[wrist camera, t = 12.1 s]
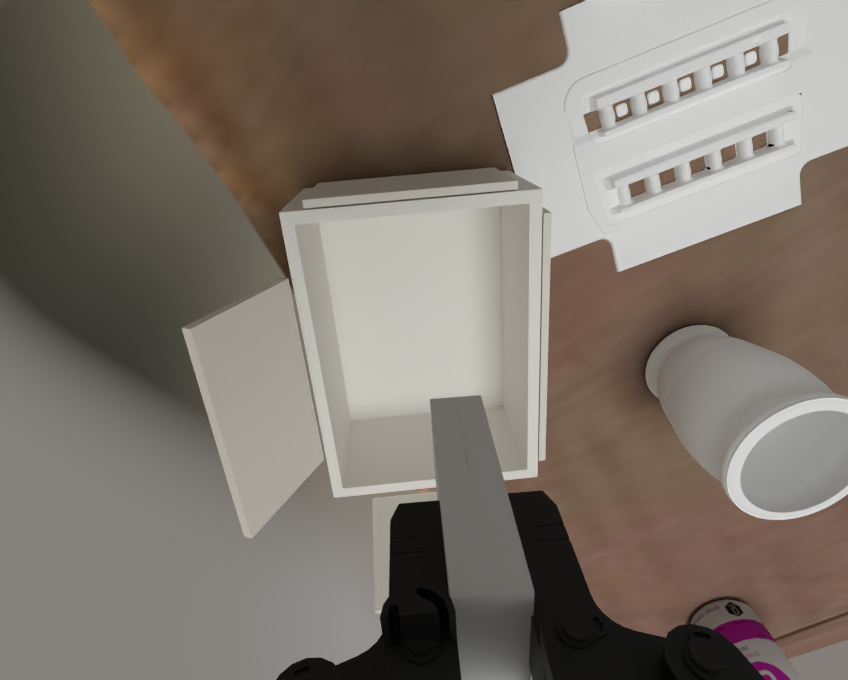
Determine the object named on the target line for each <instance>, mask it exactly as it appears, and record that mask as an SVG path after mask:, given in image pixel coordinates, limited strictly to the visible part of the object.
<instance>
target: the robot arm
mask: <svg viewBox="0 0 848 680" xmlns="http://www.w3.org/2000/svg"><path fill="white" fill-rule="evenodd" d="M430 409H431V423H432V438H433V453H434V467H435V479H436V490H437V501H424V502H412V503H400V504H398V506H397V508H396V510H395V512H394V514H393V516H392V518H391V520H390V560H389V597H388V598H387V600H386V601H385V603H384V604H383V608H382V612H381V616H380V620H381V627H382V635H381V637H380V638H379V640H378V641H377V642H376V643H375V644H374V645H373V646H372V647H371V648H370V649H369V650H367V651H366V652H364V653H362V654H360V655H359V656H357V657H354V658H352V659H350V660H347V661H345V662H343V663H340V664H338V665H336V666H335V665H334V663H332V662H330V661H327V660H325V659H323V658H306V659H303V660H301V661H299V662H296V663H294V664H292V665H291V666H289V667H288V668H287V669H286V670H285V671H284V672H282V673H281V674H280V675H279V677H278V678H277V680H530V679H531V675H532V679H533V680H765V679H764V678H763V676H762V675H761V674H760V673H759V672H758V671H757V670H756V668H755V667H754V666H753V665H752V664H751V663H750V662H749V660H748V659H747V658H746V657H745V656H744V655H743V654H742V652H741V651H740V650H739V649H738V648H737V647H736V646H735V645H734V644H733V643H731V642H730V641H729V640H728V639H727V638H726V637H725V636H723V635H721V634H719V633H718V632H716V631H714V630H712V629H710V628H708V627H703V626H699V625H694V624H688V625H680V626H677V627H676V628H674V629H673V630H671V631H670V632H668V635H667V637H666V638H664V637H660V636H655V635H651V634H646V633H642V632H638V631H634V630H631V629H628V628H625V627H623V626H621V625H619V624H617V623H615V622H614V621H612V620H611V619H610V618H608V617H607V616H606V615H605V614H604V613H603V612H602V611H601V610H600V609H599V608H598V606H597V605H596V604H595V602H594V600H593V598H592V596H591V594H590V591H589V589H588V586H587V583H586V581H585V578H584V576H583V573H582V570H581V568H580V565H579V563H578V560H577V557H576V555H575V552H574V549H573V547H572V544H571V542H570V541H569V536H568V534H567V531H566V529H565V527H564V525H563V521H562V518H561V515H560V513H559V510H558V508H557V505H556V504H555V503H554V502H553V501H552V500H551V499H550V498H549V497H548V496H547V495H546V494H545V493H544V492H543V491H532V492H520V493H507V489H506V485H505V482H504V478H503V474H502V471H501V467H500V463H499V460H498V456H497V452H496V449H495V445H494V441H493V438H492V434H491V430H490V427H489V423H488V419H487V416H486V412H485V408H484V405H483V401H482V397H481V395H475V396H463V397H450V398H437V399H430Z"/></svg>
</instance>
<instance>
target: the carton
mask: <svg viewBox="0 0 848 680" xmlns="http://www.w3.org/2000/svg"><path fill="white" fill-rule="evenodd" d="M542 203H543V189H542V188H540V187H538V186H536V185H535V184H533V183H531V182H529V181H527V180H525V179H523V178H522V177H520V176H518V175H516V174H514V173H512V172H511V171H509V170H505V171H500V170H499V169H497V168H495V167H493V168H481V169H470V170H459V171H447V172H436V173H425V174H414V175H402V176H391V177H380V178H369V179H357V180H346V181H335V182H324V183H318V184H317V185H316V186H315V187H314V188H304V189H303V190H302V191H301V192H300V193H299V194H298V195H297V196H296V197H294V198H293V199H292V200H291V201H290V202H289V203H288V204H287V205H286V206H285V207H284V208H283V209H282V210H281V211H280V212H279V216H280V222H281V227H282V232H283V237H284V242H285V247H286V253H287V258H288V263H289V268H290V273H291V278H292V284H293V289H294V294H295V299H296V304H297V309H298V314H299V320H300V325H301V330H302V335H303V340H304V345H305V350H306V356H307V360H308V366H309V371H310V377H311V381H312V387H313V391H314V397H315V402H316V407H317V413H318V418H319V423H320V428H321V433H322V438H323V444H324V449H325V454H326V459H327V464H328V469H329V475H330V480H331V485H332V490H333V495H334V498H335V497H345V496H355V495H365V494H375V493H384V492H394V491H404V490H414V489H423V488H433V487H436V479H435V467H434V453H433V438H432V423H431V409H430V399H437V398H450V397H463V396H475V395H481V397H482V401H483V405H484V408H485V412H486V416H487V419H488V423H489V427H490V430H491V434H492V438H493V441H494V445H495V449H496V452H497V456H498V460H499V463H500V467H501V471H502V474H503V478H504V480H511V479H520V478H530V477H537V473H538V460H539V461H542V460H545V449H546V410H547V372H548V334H549V295H550V257H551V219H552V213H551V212H550V211H548V210H547V209H545V208H544V207H542Z"/></svg>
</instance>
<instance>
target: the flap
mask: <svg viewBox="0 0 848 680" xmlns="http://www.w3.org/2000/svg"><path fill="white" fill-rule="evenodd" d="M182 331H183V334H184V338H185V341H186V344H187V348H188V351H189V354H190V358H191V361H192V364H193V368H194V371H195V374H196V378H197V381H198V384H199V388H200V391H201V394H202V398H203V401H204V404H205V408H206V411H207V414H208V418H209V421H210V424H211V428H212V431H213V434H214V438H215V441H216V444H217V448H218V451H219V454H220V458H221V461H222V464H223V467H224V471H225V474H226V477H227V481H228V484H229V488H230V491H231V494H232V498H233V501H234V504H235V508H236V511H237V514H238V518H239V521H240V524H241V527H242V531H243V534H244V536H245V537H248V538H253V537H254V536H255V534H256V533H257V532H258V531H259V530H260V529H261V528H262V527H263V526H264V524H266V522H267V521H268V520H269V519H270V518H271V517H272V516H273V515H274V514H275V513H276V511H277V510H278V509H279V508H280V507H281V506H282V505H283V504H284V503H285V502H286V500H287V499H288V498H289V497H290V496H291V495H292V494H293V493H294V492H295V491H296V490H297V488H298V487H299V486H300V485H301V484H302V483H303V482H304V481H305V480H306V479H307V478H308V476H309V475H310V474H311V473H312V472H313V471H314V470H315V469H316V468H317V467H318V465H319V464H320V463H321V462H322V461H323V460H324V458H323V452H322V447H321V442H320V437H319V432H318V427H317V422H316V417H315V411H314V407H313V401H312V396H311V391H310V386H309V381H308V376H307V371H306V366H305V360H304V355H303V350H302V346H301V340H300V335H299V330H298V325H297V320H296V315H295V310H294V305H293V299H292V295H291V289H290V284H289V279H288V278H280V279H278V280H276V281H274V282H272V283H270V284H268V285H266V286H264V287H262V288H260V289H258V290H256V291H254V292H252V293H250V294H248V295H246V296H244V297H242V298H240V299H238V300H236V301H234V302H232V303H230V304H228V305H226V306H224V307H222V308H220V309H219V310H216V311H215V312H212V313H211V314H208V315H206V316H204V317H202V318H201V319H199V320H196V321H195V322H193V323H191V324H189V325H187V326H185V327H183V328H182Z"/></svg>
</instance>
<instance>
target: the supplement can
mask: <svg viewBox="0 0 848 680" xmlns="http://www.w3.org/2000/svg"><path fill="white" fill-rule="evenodd" d="M690 624H694V625H699V626H703V627H708V628H710V629H712V630H714V631H716V632H718V633H719V634H721V635H723V636H725V637H726V638H727V639H728V640H729V641H730V642H731V643H733V644H734V645H735V646H736V647H737V648H738V649H739V650H740V651H741V652H742V654H743V655H744V656H745V657H746V658H747V659H748V660H749V662H750V663H751V664H752V665H753V666H754V667H755V668H756V670H757V671H758V672H759V673H760V674H761V675H762V676H763V678H764V679H765V680H803V679H802V678H801V676H800V675H799V673H798V672H797V671H796V669H795V668H794V667H793V665H792V664H791V662H790V661H789V659H788V658H787V657H786V655H785V654H784V653H783V651H782V650H781V648H780V647H779V646H778V644H777V643H776V641H775V640H774V639H773V637H772V636H771V635H770V633H769V632H768V630H767V629H766V628H765V626H764V625H763V623H762V622H761V621H760V619H759V618H758V617H757V615H756V614H755V612H754V611H753V610H752V608H751V607H750V606H749V605H747V604H745V603H742V602H738V601H736V600H728V599H725V600H719V601H715V602H712V603H710V604H707V605H705V606H704V607H702V608H701V609H699V610H698V611H697V612H696V614H695V615H694V616H693V618H692V620H691V623H690Z"/></svg>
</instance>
